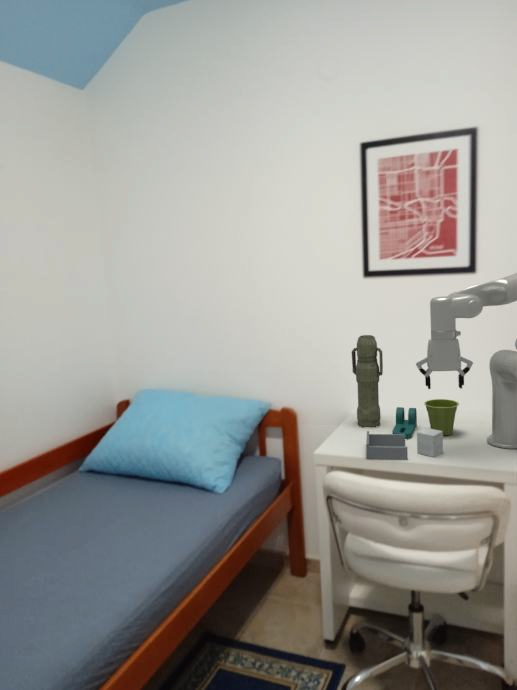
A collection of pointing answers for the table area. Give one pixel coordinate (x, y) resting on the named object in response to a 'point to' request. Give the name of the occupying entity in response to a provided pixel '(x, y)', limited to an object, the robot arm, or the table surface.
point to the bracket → (405, 422)
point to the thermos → (367, 380)
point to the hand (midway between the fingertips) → (444, 387)
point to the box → (379, 451)
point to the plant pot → (442, 414)
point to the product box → (430, 442)
